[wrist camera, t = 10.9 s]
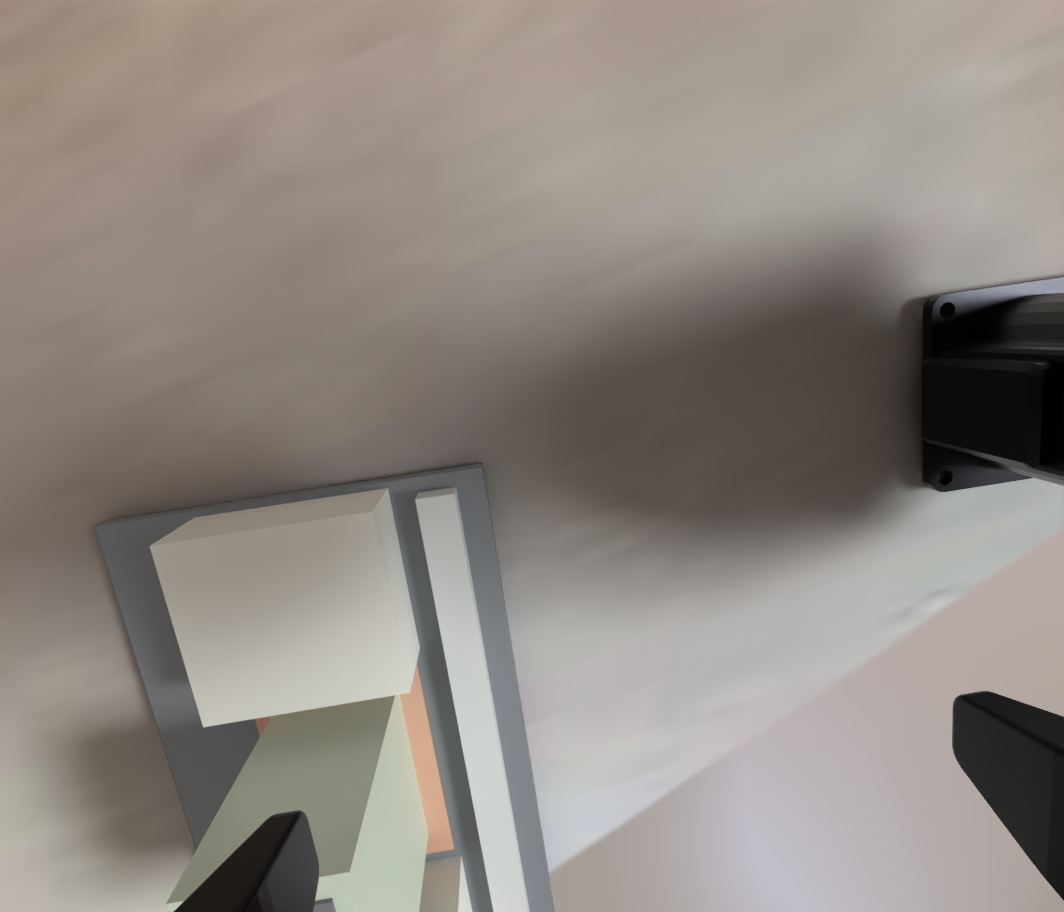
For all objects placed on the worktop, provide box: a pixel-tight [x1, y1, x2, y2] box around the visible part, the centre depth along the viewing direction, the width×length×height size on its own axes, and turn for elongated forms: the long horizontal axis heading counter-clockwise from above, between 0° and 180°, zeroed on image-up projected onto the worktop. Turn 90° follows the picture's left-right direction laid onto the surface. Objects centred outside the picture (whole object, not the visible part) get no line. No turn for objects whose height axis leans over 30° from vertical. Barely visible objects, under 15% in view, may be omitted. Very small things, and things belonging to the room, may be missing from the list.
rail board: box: [94, 463, 555, 912], centre depth 20 cm, size 12×20×3 cm, turn 8°
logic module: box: [166, 695, 428, 912], centre depth 17 cm, size 4×6×7 cm, turn 8°
